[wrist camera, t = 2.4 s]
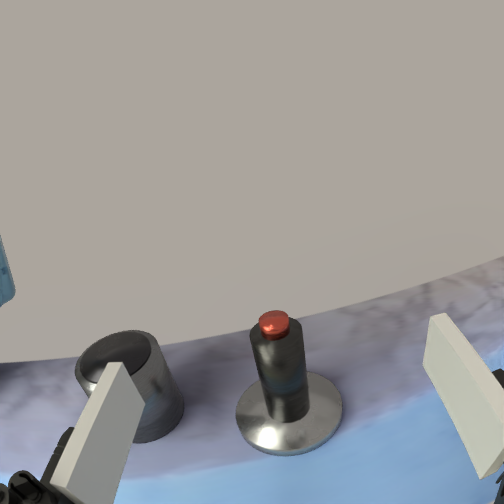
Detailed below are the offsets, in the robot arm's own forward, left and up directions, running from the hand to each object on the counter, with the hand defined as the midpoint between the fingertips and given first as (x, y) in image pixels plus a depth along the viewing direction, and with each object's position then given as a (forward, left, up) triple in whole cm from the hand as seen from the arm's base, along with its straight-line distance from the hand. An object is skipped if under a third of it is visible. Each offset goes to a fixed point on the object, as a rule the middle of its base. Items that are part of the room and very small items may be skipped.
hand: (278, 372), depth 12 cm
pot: (-19, +2, -16) cm, 25 cm away
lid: (-5, +9, -16) cm, 19 cm away
